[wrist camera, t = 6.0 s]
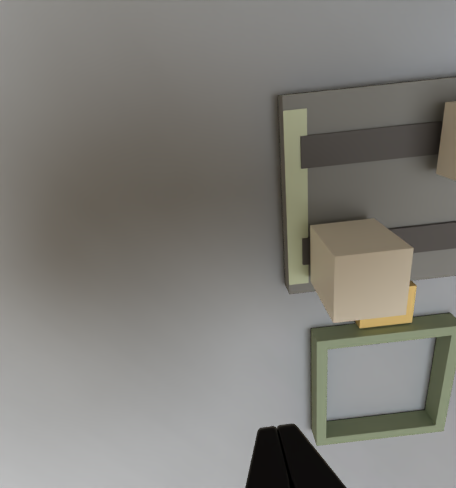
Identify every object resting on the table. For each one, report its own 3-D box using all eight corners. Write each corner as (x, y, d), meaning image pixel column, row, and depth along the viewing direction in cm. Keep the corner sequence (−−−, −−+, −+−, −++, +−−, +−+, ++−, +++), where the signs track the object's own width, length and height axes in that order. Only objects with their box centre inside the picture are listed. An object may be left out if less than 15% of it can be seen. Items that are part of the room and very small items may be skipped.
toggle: (373, 218, 17) (413, 247, 14) (370, 274, 18) (405, 314, 15) (310, 225, 17) (334, 256, 13) (310, 281, 18) (333, 323, 15)
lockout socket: (457, 275, 20) (471, 285, 19) (432, 415, 24) (443, 431, 23) (310, 291, 20) (316, 303, 19) (311, 429, 24) (316, 445, 23)
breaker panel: (523, 69, 16) (546, 68, 15) (484, 262, 20) (500, 272, 19) (278, 95, 16) (283, 95, 15) (285, 284, 20) (289, 296, 18)
